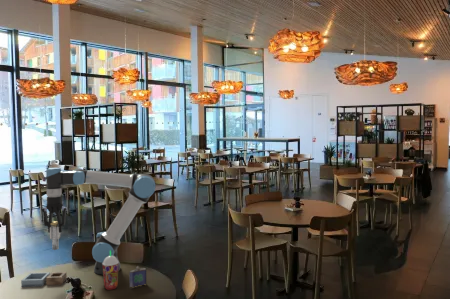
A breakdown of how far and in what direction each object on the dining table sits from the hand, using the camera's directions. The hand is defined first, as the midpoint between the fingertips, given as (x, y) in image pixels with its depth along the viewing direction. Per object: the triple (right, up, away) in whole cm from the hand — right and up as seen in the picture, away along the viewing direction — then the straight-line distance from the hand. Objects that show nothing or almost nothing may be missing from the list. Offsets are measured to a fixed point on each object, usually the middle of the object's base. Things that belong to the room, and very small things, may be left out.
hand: (55, 238), depth 212 cm
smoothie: (+33, -25, -7) cm, 42 cm away
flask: (+47, -25, -5) cm, 53 cm away
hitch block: (0, -24, +1) cm, 25 cm away
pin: (0, -6, 0) cm, 6 cm away
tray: (-11, -25, 0) cm, 27 cm away
